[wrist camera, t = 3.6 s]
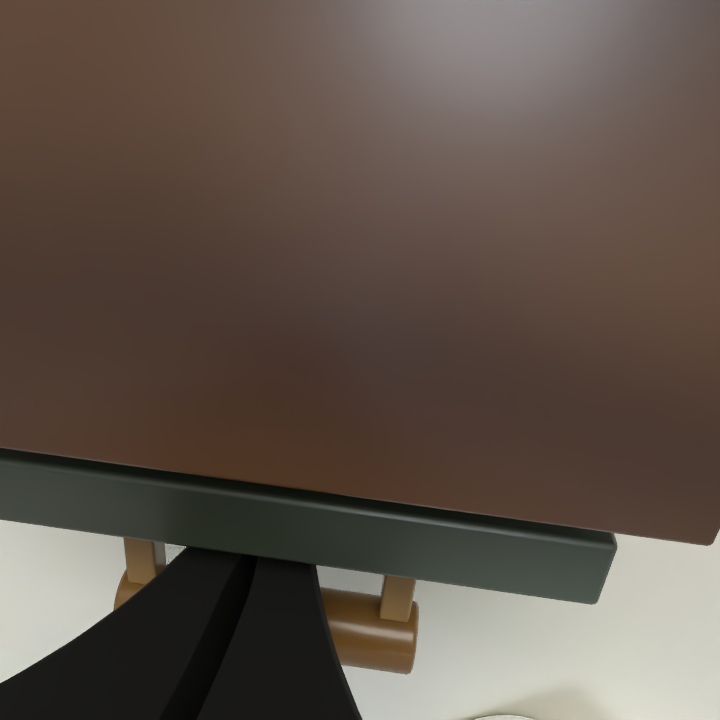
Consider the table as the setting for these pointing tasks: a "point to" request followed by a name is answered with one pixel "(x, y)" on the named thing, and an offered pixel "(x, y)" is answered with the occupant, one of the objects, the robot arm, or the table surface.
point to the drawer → (309, 541)
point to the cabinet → (371, 249)
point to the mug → (504, 717)
